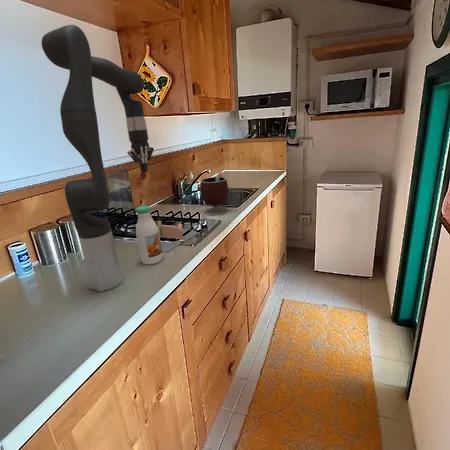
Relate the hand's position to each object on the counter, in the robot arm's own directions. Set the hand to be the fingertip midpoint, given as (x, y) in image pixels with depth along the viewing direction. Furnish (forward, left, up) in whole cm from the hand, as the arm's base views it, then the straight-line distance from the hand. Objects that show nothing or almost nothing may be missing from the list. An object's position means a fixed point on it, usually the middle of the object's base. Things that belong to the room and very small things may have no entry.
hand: (144, 172), depth 127 cm
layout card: (-4, -13, -27) cm, 30 cm away
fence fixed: (-9, -8, -27) cm, 29 cm away
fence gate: (-4, -14, -26) cm, 30 cm away
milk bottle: (-22, -20, -27) cm, 40 cm away
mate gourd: (+34, -12, -27) cm, 45 cm away
